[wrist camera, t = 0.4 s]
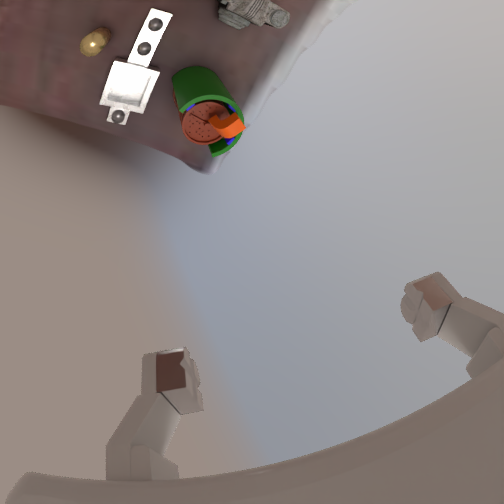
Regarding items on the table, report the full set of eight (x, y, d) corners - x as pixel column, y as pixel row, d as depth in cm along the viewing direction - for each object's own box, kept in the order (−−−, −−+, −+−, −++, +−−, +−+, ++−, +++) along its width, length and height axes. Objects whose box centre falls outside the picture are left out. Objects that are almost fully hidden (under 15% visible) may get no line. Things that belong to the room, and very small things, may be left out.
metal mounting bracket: (139, 4, 33) (138, 5, 31) (183, 17, 37) (186, 19, 35) (96, 115, 45) (94, 122, 43) (136, 123, 49) (136, 130, 48)
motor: (158, 90, 46) (165, 140, 34) (194, 55, 43) (219, 89, 31) (197, 121, 53) (220, 180, 41) (232, 89, 50) (269, 137, 38)
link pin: (95, 25, 32) (84, 31, 27) (114, 29, 34) (107, 36, 29) (87, 44, 35) (76, 54, 29) (106, 47, 36) (98, 58, 31)
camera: (181, 4, 35) (188, 6, 29) (202, -28, 31) (214, -33, 25) (255, 38, 43) (276, 49, 37) (275, 10, 40) (300, 16, 34)
